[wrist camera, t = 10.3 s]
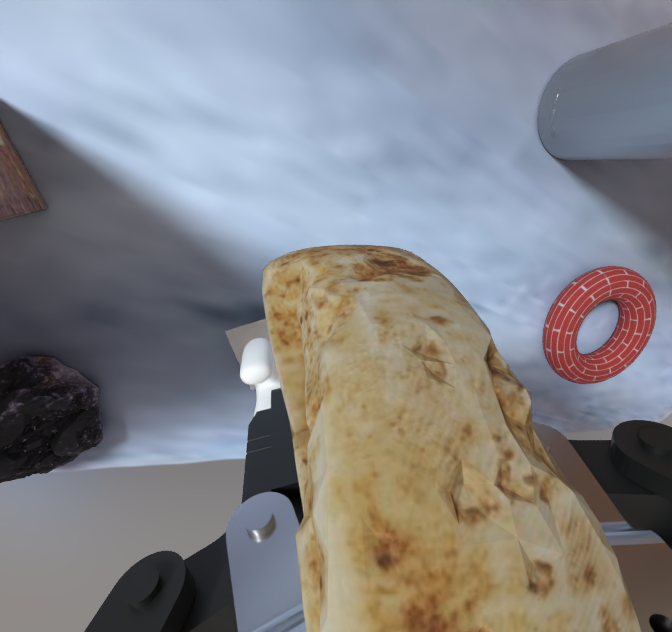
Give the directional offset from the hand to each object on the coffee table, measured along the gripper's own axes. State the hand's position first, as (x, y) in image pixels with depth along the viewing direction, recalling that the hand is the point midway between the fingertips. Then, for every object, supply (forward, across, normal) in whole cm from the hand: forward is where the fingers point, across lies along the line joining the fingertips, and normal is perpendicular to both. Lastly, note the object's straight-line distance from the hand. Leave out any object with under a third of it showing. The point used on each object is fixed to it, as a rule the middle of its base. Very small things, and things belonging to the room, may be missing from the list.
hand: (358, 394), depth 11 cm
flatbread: (+2, 0, 0) cm, 2 cm away
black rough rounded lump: (+27, +31, +12) cm, 43 cm away
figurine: (+27, +5, +10) cm, 30 cm away
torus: (+28, -34, +19) cm, 48 cm away
